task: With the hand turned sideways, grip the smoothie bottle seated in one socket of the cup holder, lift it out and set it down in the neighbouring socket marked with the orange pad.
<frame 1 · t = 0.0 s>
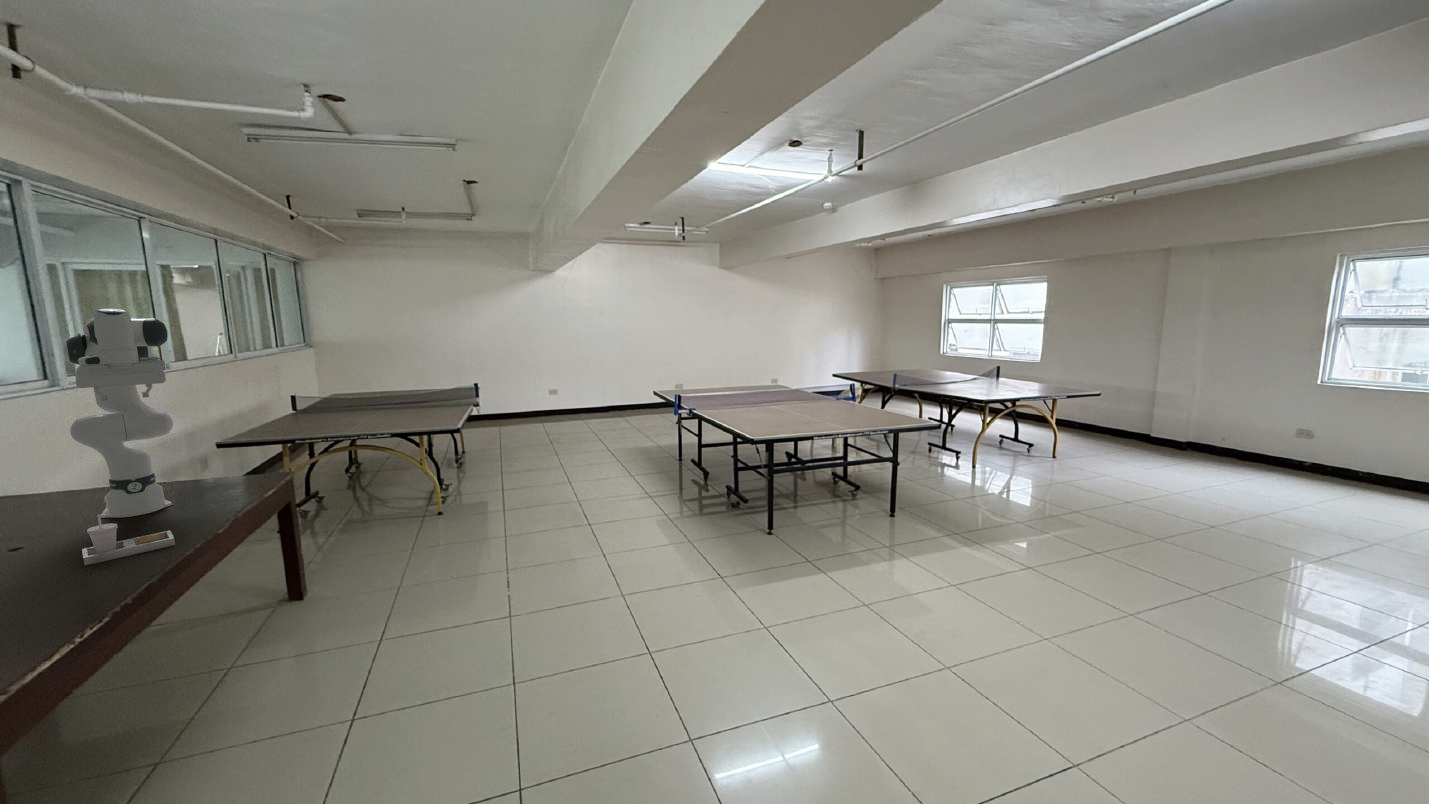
hand: (125, 398, 177), 48 cm above the table, tool pointing down, fingers open, 8 cm apart
cup holder: (130, 550, 171), on the table
smoothie: (107, 556, 167), resting in cup holder
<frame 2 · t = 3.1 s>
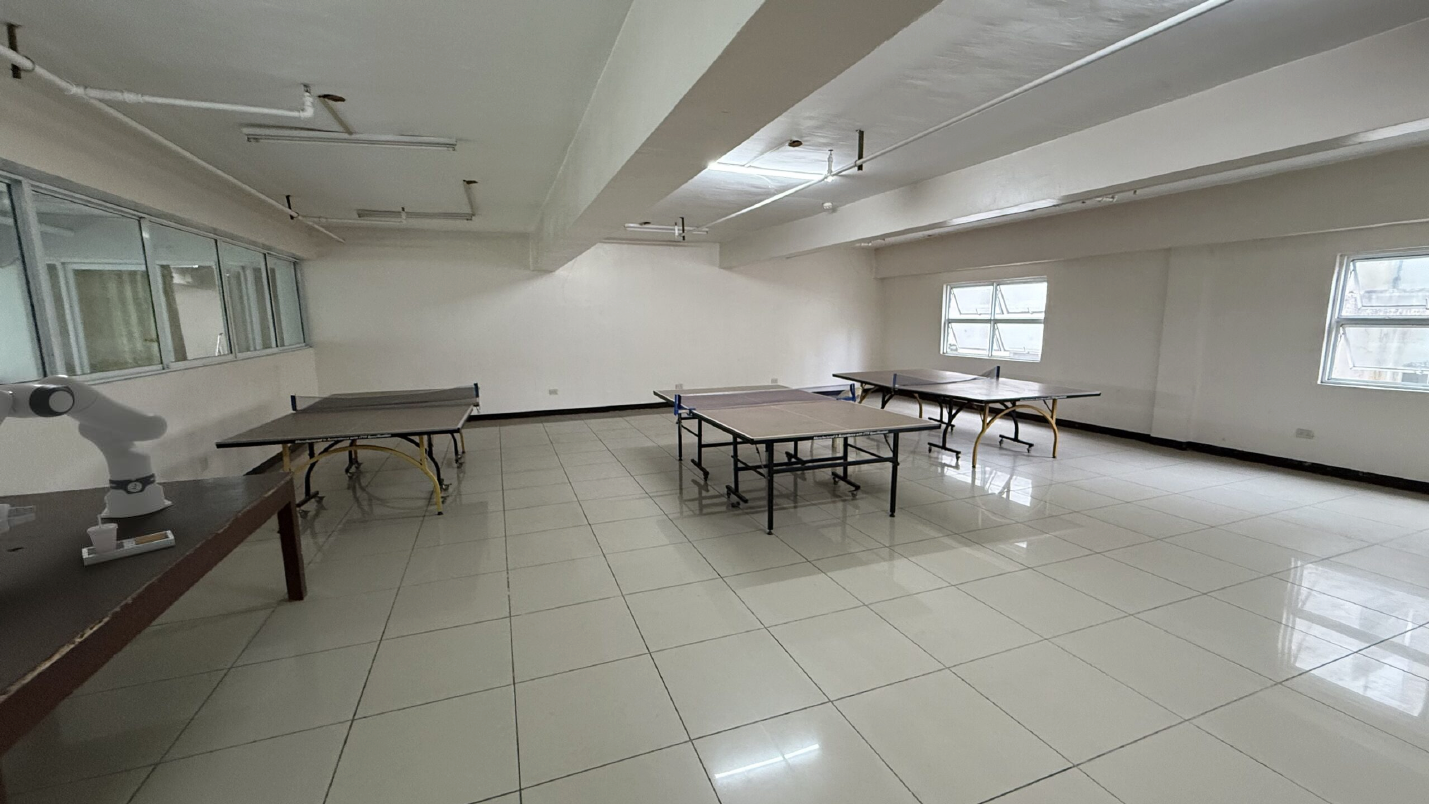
hand: (35, 512, 155), 18 cm above the table, tool horizontal, fingers open, 8 cm apart
nothing on the table moved.
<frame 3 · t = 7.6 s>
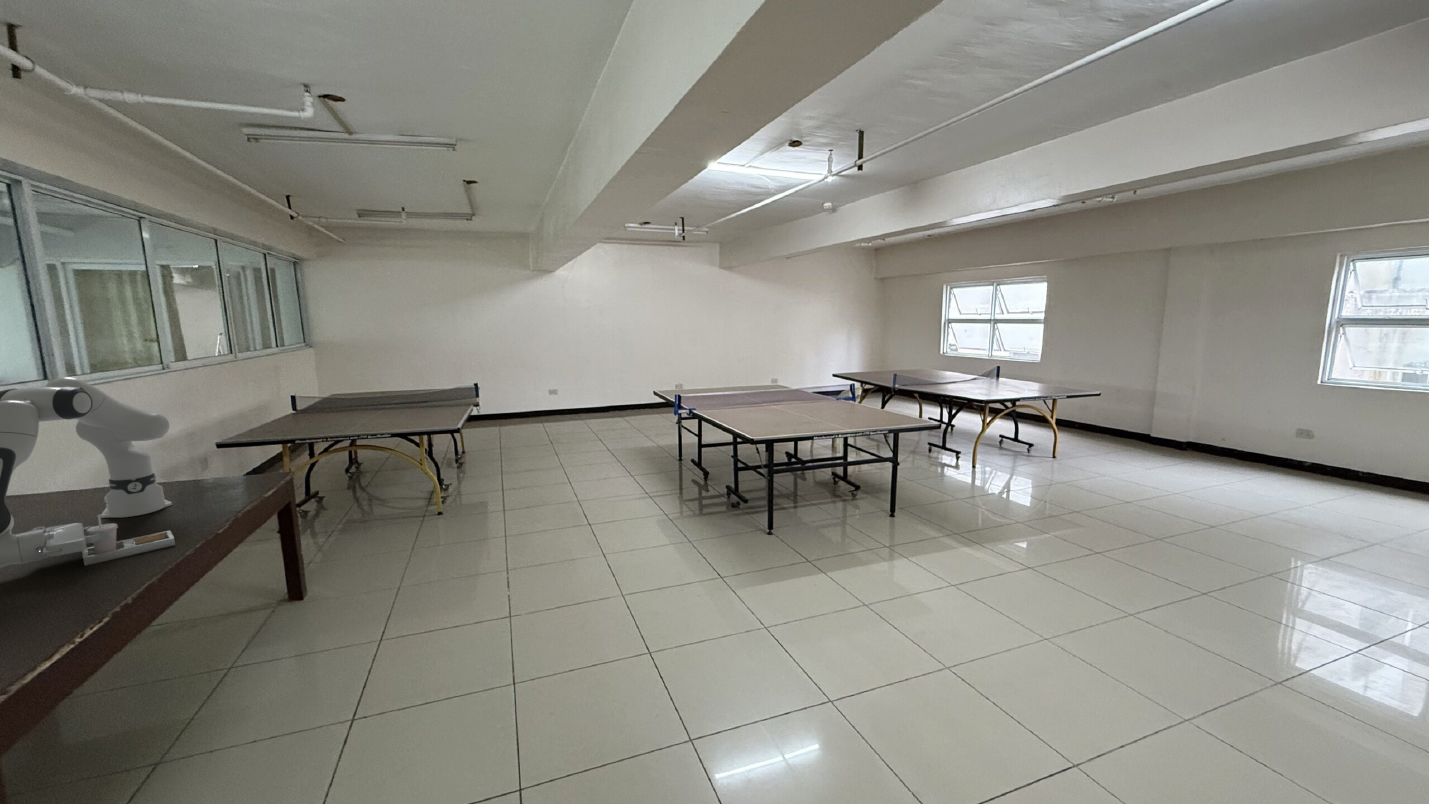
hand: (107, 531, 167), 8 cm above the table, tool horizontal, fingers closed on smoothie, 6 cm apart
smoothie: (107, 556, 167), resting in cup holder, touching gripper
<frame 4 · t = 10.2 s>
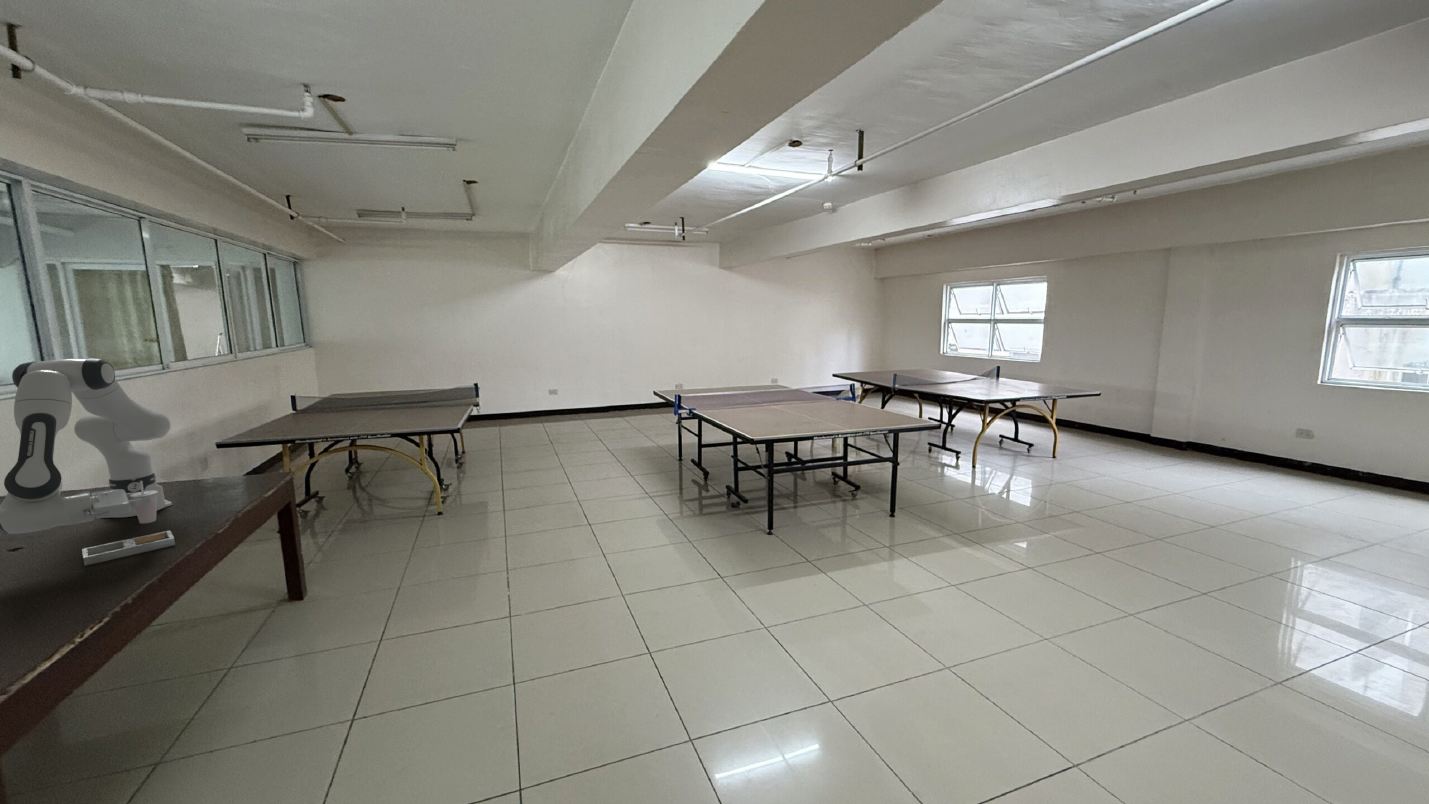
hand: (148, 496, 173), 17 cm above the table, tool horizontal, fingers closed on smoothie, 6 cm apart
smoothie: (148, 521, 173), point 8 cm above the table, touching gripper
when the fingers open (9 cm above the table, at t = 12.9 s): smoothie stays where it is, resting on cup holder.
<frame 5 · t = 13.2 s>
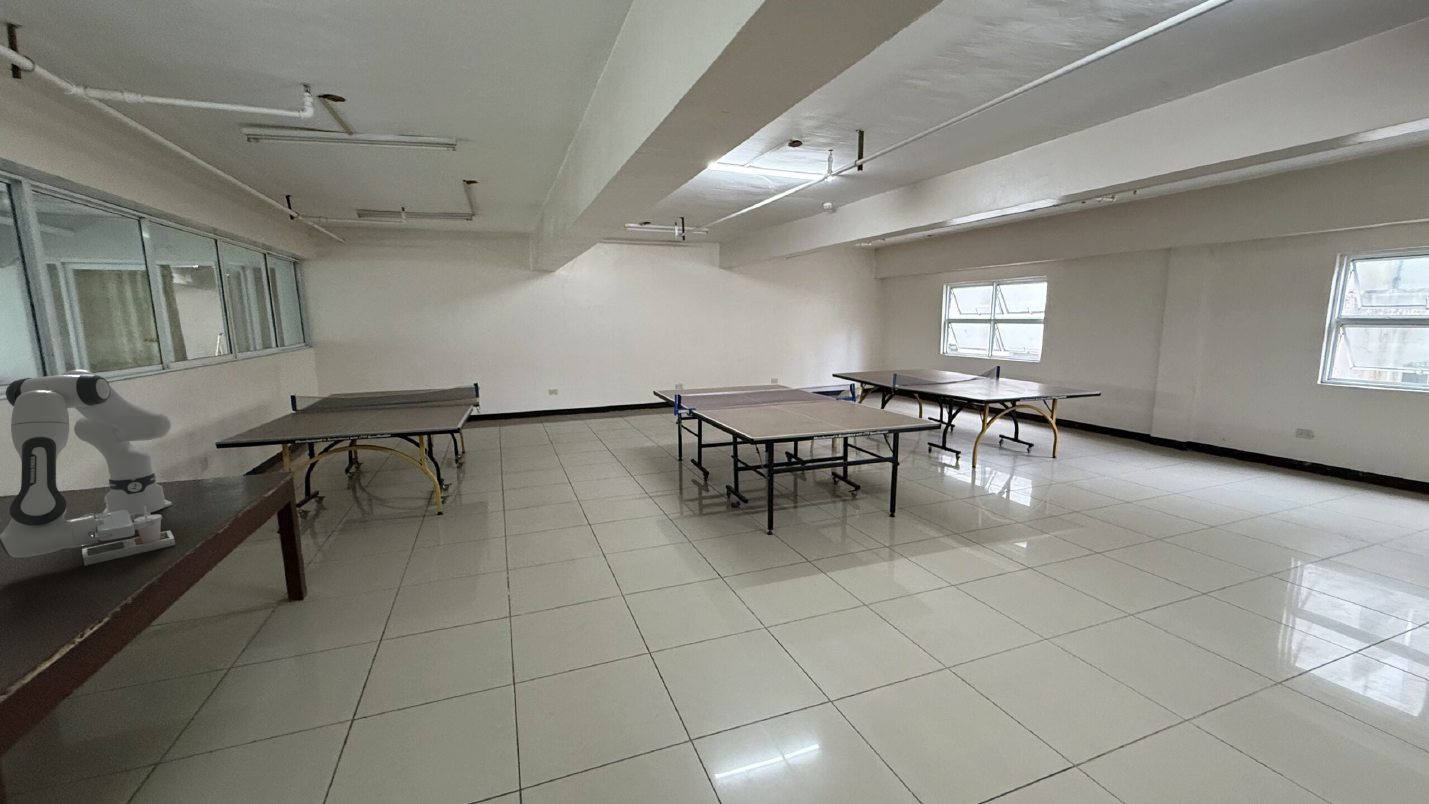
hand: (152, 517, 174), 9 cm above the table, tool horizontal, fingers open, 8 cm apart
smoothie: (152, 545, 174), resting on cup holder
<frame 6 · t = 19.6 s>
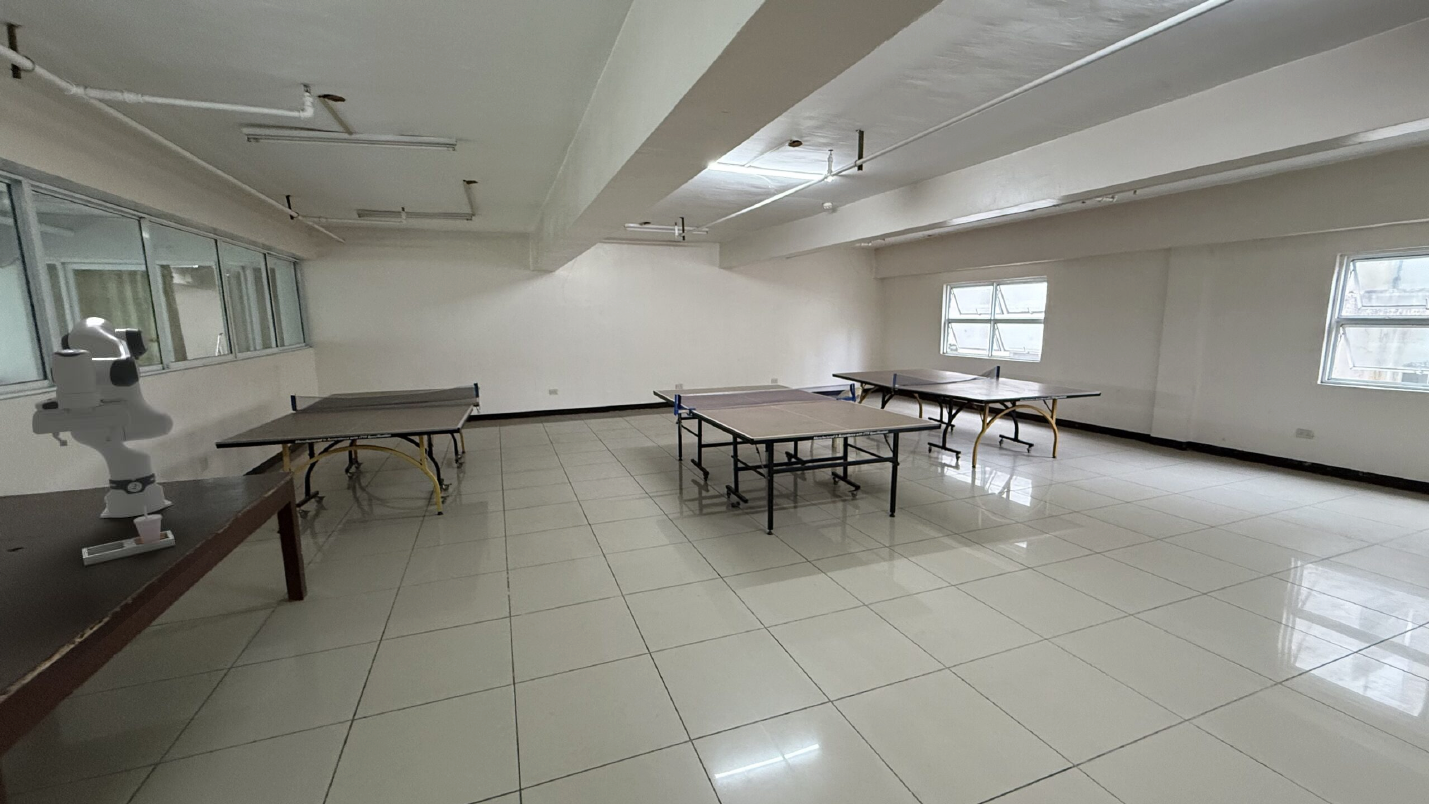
hand: (87, 443, 168), 35 cm above the table, tool pointing down, fingers open, 8 cm apart
nothing on the table moved.
at the end: smoothie 0.5 cm from the target spot on the cup holder, point 0.1 cm above the cup holder's base; smoothie tilted 0°; the gripper is holding nothing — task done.
